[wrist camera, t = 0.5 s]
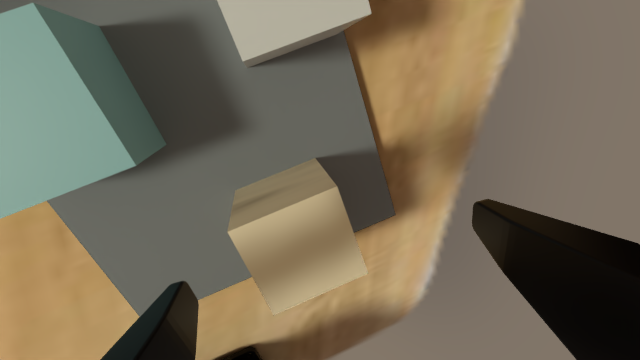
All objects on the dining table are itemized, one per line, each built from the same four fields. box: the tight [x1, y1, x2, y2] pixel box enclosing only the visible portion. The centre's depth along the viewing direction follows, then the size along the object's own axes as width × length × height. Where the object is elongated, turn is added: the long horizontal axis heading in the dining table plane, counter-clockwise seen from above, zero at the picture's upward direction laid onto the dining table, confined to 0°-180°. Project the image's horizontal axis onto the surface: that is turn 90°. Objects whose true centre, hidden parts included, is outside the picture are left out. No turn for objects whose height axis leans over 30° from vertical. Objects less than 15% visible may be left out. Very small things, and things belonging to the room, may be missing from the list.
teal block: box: [0, 3, 167, 218], centre depth 14 cm, size 7×7×5 cm
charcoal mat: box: [0, 0, 396, 316], centre depth 19 cm, size 22×21×1 cm
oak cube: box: [227, 158, 368, 315], centre depth 19 cm, size 6×6×6 cm
